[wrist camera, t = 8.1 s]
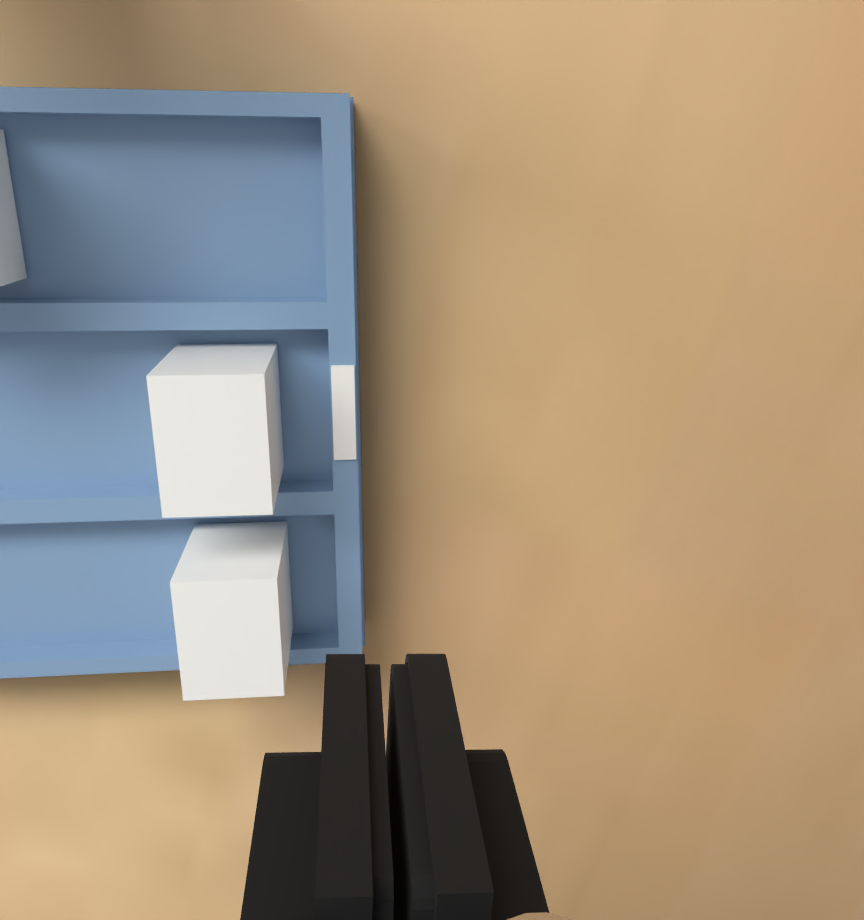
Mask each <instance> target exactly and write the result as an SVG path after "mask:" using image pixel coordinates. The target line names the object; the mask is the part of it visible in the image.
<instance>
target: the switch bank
mask: <svg viewBox="0 0 864 920" xmlns="http://www.w3.org/2000/svg"><path fill="white" fill-rule="evenodd" d="M0 129H3V130H4V136H5V143H6V149H7V155H8V162H9V168H10V174H11V181H12V187H13V193H14V199H15V206H16V212H17V218H18V225H19V231H20V237H21V243H22V250H23V256H24V262H25V269H26V275H27V278H25V279H22V280H19V281H16V282H13V283H10V284H7V285H4V286H1V287H0V679H1V678H22V677H43V676H65V675H86V674H107V673H128V672H150V671H171V670H180V668H179V660H178V651H177V642H176V633H175V625H174V616H173V607H172V598H171V589H170V581H171V578H172V576H173V574H174V572H175V569H176V567H177V565H178V562H179V560H180V558H181V556H182V553H183V551H184V549H185V546H186V544H187V542H188V540H189V537H190V535H191V533H192V530H193V528H194V526H195V524H217V523H250V522H283V521H287V528H288V546H289V563H290V581H291V599H292V617H293V630H292V638H291V646H290V654H289V662H288V665H299V664H320V663H326V654H362V645H365V626H364V579H363V532H362V485H361V438H360V390H359V343H358V296H357V249H356V202H355V155H354V108H353V97H350V94H342V93H293V92H243V91H193V90H143V89H94V88H44V87H0ZM177 344H277V350H278V367H279V385H280V403H281V421H282V439H283V456H284V467H283V472H282V476H281V481H280V485H279V490H278V494H277V499H276V503H275V508H274V512H273V515H243V516H209V517H174V518H162V510H161V502H160V493H159V484H158V475H157V466H156V458H155V449H154V440H153V431H152V423H151V414H150V405H149V396H148V387H147V379H146V376H147V375H148V373H149V372H150V371H151V370H152V369H153V368H154V367H155V366H156V365H157V364H158V363H159V362H160V361H161V360H162V359H163V358H164V357H165V356H166V355H167V354H168V353H169V352H170V351H171V350H172V349H173V348H174V347H175V346H176V345H177Z"/></svg>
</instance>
